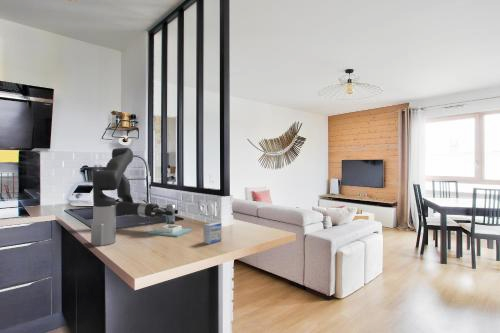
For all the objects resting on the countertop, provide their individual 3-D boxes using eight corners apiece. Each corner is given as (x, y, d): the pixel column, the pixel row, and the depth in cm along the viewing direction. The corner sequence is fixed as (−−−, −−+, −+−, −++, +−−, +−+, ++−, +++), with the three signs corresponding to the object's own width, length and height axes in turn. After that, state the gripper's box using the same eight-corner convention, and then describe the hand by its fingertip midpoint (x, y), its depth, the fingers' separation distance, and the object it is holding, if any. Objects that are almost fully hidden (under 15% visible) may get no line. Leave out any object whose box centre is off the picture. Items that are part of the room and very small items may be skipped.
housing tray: (177, 237, 140) (177, 231, 140) (147, 233, 146) (147, 228, 146) (191, 230, 153) (192, 225, 153) (164, 228, 159) (164, 222, 159)
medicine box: (209, 244, 128) (210, 225, 128) (203, 242, 131) (203, 224, 131) (221, 241, 134) (221, 223, 134) (214, 239, 137) (215, 221, 137)
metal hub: (171, 224, 147) (171, 205, 147) (164, 223, 148) (164, 205, 148) (176, 223, 151) (176, 204, 151) (169, 222, 153) (169, 204, 152)
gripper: (139, 205, 147) (167, 207, 142) (156, 201, 161) (182, 203, 155) (139, 219, 148) (166, 222, 142) (156, 214, 161) (182, 217, 155)
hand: (174, 212), depth 149 cm, fingers closed on metal hub, 4 cm apart
